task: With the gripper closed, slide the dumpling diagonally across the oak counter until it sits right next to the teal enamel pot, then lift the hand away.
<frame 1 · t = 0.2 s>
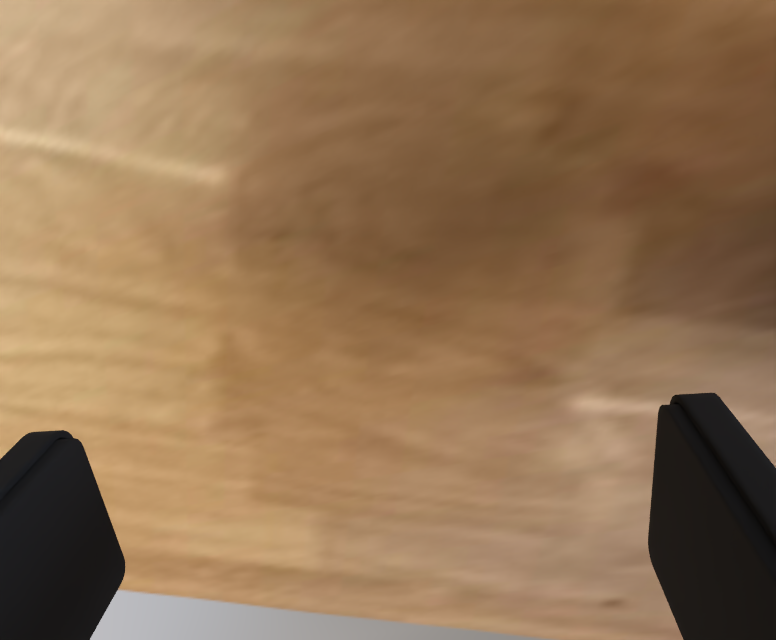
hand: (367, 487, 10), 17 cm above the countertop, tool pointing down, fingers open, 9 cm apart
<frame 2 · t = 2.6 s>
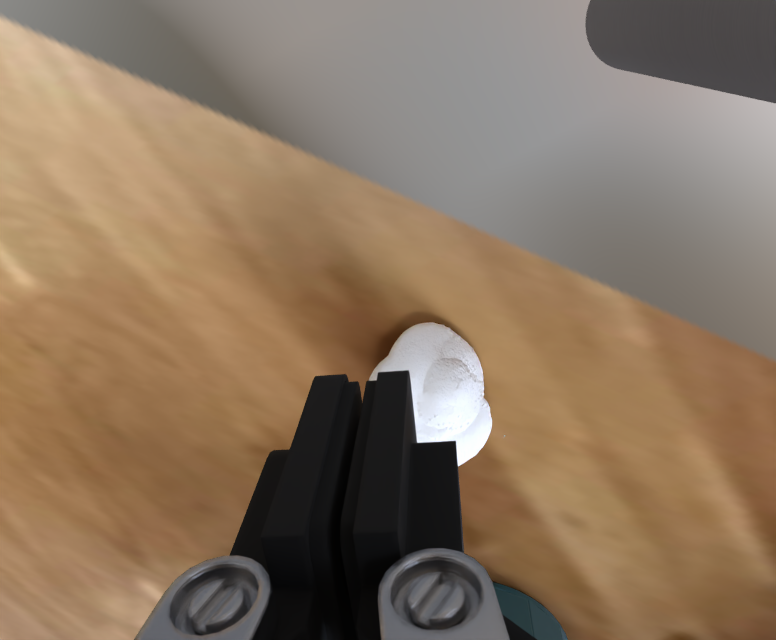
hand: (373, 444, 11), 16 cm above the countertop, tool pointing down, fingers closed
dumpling: (434, 379, 29), on the countertop
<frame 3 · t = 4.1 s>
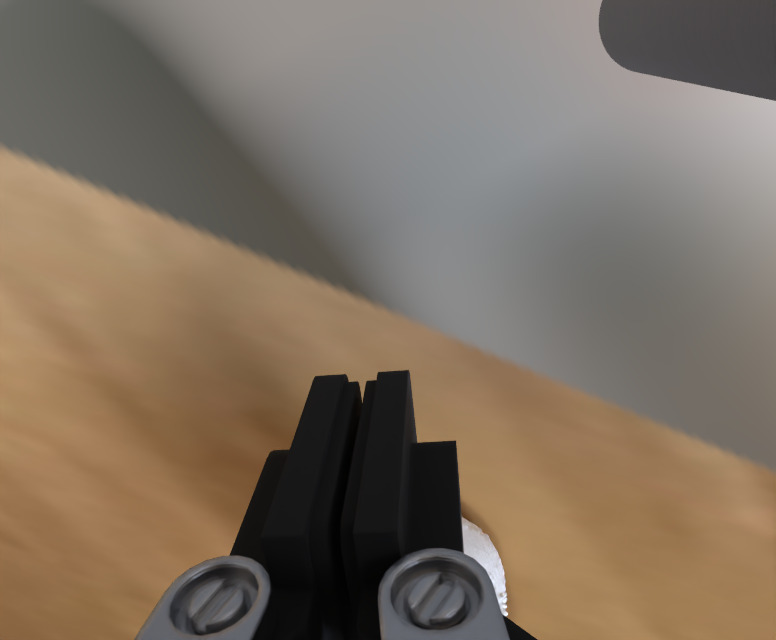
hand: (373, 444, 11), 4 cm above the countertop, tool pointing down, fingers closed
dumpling: (426, 571, 18), on the countertop
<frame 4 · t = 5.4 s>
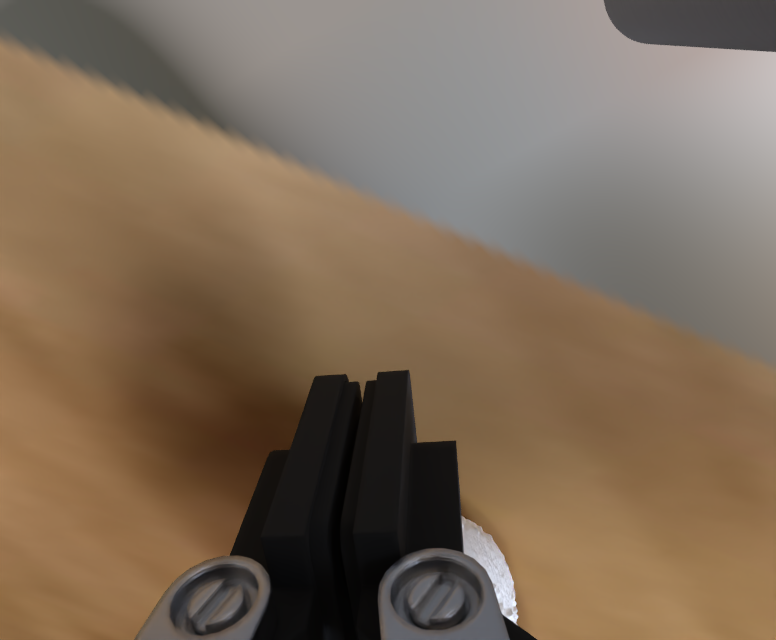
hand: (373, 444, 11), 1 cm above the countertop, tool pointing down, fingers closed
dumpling: (416, 582, 15), on the countertop, touching gripper
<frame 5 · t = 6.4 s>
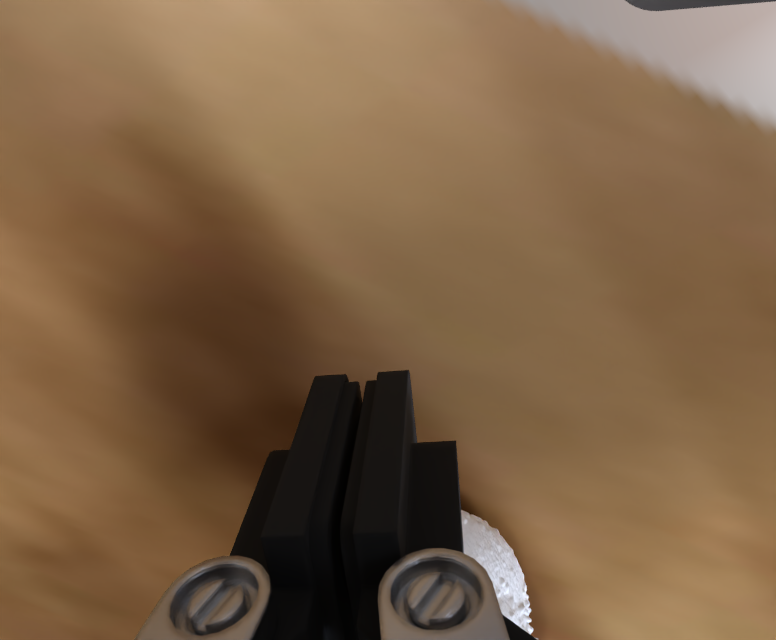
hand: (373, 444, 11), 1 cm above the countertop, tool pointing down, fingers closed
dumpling: (428, 581, 15), on the countertop, touching gripper
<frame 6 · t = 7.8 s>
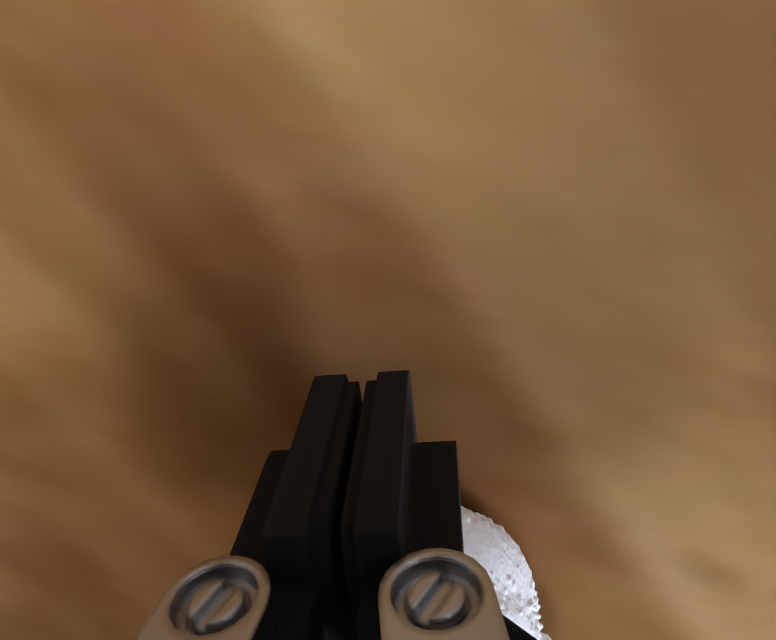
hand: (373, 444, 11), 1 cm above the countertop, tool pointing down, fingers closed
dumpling: (436, 581, 14), on the countertop, touching gripper
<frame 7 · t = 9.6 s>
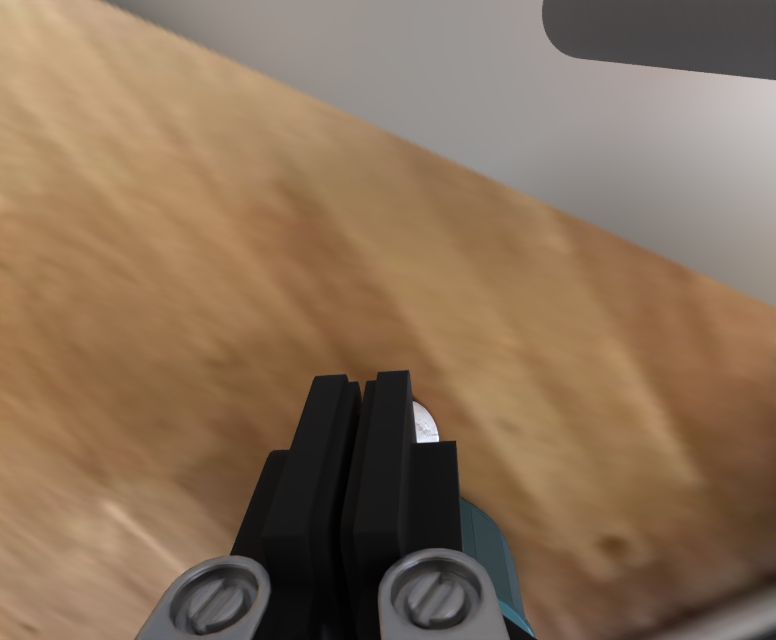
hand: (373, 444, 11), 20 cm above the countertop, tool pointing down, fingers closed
pot: (408, 569, 39), on the countertop
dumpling: (399, 435, 35), on the countertop
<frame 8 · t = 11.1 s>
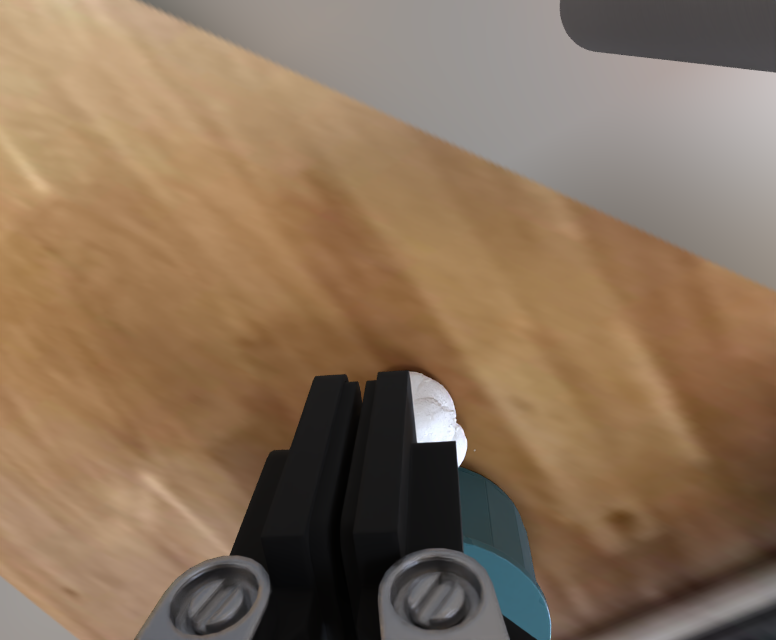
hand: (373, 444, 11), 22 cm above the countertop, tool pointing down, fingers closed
pot: (426, 540, 41), on the countertop
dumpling: (419, 412, 37), on the countertop
pot lid: (425, 624, 35), point 6 cm above the countertop, touching pot
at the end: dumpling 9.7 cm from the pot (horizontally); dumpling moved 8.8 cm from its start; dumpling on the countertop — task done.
